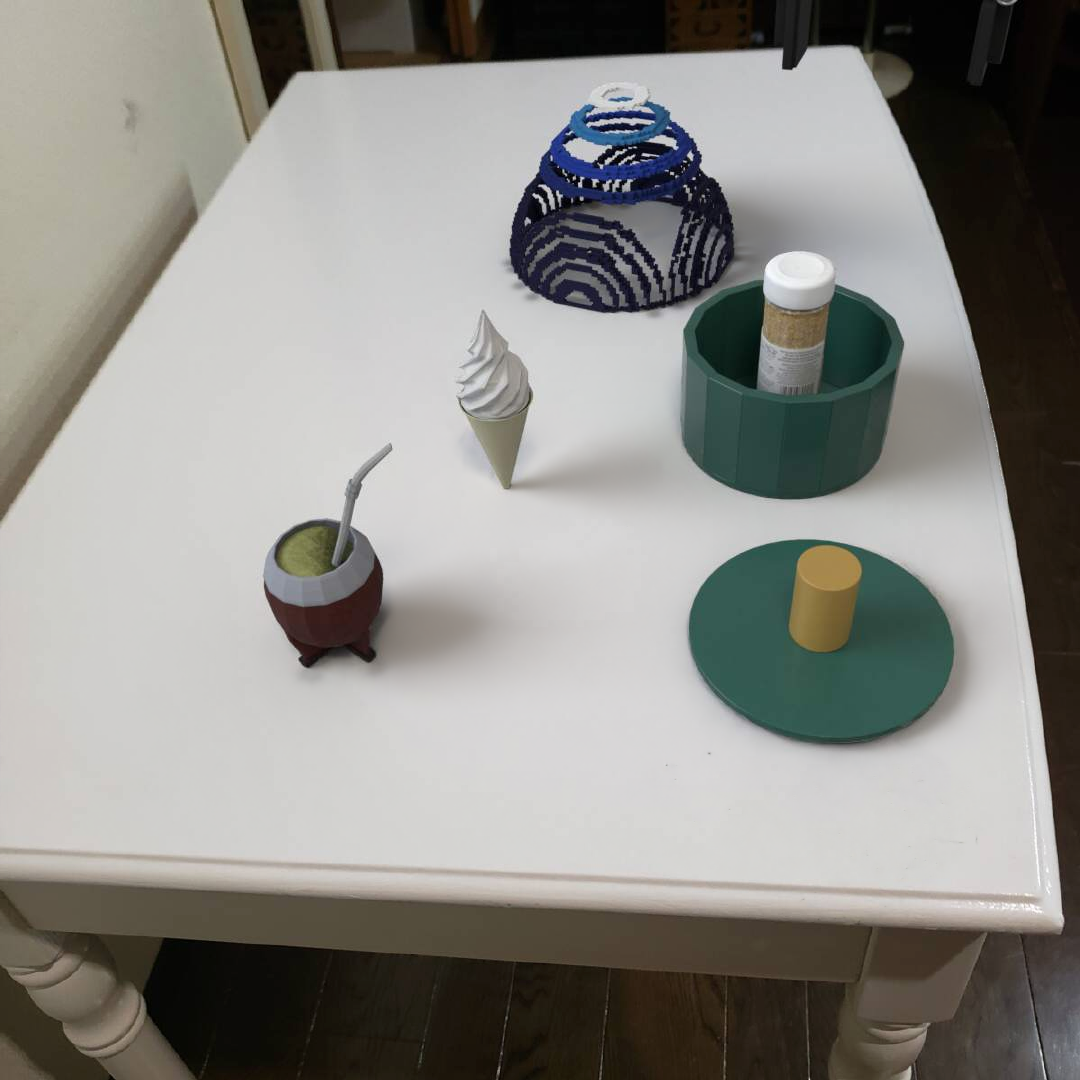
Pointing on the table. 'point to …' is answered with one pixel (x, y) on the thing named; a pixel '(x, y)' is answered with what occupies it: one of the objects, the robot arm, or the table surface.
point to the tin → (787, 397)
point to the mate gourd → (326, 581)
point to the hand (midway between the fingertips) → (883, 67)
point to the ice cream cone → (495, 397)
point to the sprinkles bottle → (795, 322)
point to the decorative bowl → (640, 190)
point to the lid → (821, 641)
